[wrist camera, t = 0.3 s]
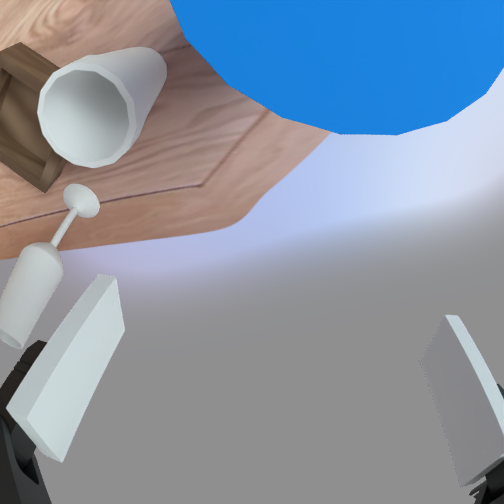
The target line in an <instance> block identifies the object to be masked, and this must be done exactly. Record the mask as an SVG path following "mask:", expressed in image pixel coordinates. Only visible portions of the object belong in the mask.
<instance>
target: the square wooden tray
mask: <svg viewBox="0 0 504 504" xmlns="http://www.w3.org/2000/svg"><path fill="white" fill-rule="evenodd" d="M59 69H60V68H59V67H57V66H56V65H54V64H53V63H51V62H50V61H48V60H47V59H45V58H44V57H42V56H41V55H39V54H38V53H36V52H35V51H33V50H32V49H30V48H29V47H27V46H26V45H24V44H22V43H21V42H20V43H18V44H15V45H13V46H11V47H9V48H6V49H4V50H2V51H0V161H1V162H2V163H4V164H5V165H6V166H8V167H9V168H10V169H12V170H13V171H14V172H16V173H17V174H18V175H20V176H21V177H23V178H24V179H25V180H27V181H28V182H30V183H31V184H32V185H34V186H35V187H37V188H38V189H39V190H41V191H42V192H44V193H46V192H47V190H48V189H49V188H50V187H51V185H52V184H53V183H54V182H55V180H56V179H57V178H58V177H59V176H60V174H61V172H62V169H63V167H64V165H65V163H66V161H67V160H66V159H65V158H63V157H62V156H60V155H59V154H57V153H56V152H55V151H54V149H53V148H52V147H51V145H50V144H49V143H48V141H47V140H46V138H45V137H44V135H43V134H42V130H41V126H40V122H39V118H38V114H37V110H38V104H39V97H40V91H41V89H42V88H43V86H44V85H45V83H46V82H47V81H48V79H49V78H50V76H51V75H52V73H53V72H55V71H57V70H59Z"/></svg>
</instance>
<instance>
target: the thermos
mask: <svg viewBox="0 0 504 504" xmlns="http://www.w3.org/2000/svg"><path fill="white" fill-rule="evenodd" d="M170 2H171V4H172V7H173V9H174V12H175V14H176V16H177V19H178V21H179V24H180V26H181V28H182V31H183V33H184V36H185V38H186V40H187V41H188V42H189V43H190V44H191V45H192V46H193V47H194V48H195V49H196V50H197V51H198V52H199V53H200V55H201V56H202V57H203V58H204V59H205V60H206V61H207V62H208V63H209V64H210V65H211V66H212V68H213V69H214V70H215V71H216V72H217V73H218V74H219V75H220V77H221V78H222V79H223V80H224V81H225V82H226V83H227V84H228V85H229V86H231V87H232V88H234V89H236V90H238V91H239V92H241V93H243V94H245V95H246V96H248V97H250V98H251V99H253V100H255V101H256V102H258V103H260V104H261V105H263V106H264V107H266V108H268V109H269V110H271V111H272V112H274V113H276V114H277V115H279V116H280V117H282V118H286V119H290V120H293V121H297V122H301V123H304V124H308V125H311V126H315V127H318V128H321V129H325V130H328V131H331V132H334V133H338V134H372V135H373V134H374V135H399V134H403V133H406V132H409V131H412V130H416V129H420V128H423V127H427V126H430V125H434V124H438V123H441V122H445V121H447V120H449V119H450V118H451V117H453V116H455V115H456V114H457V113H459V112H460V111H462V110H463V109H465V108H466V107H467V106H469V105H470V104H472V103H473V102H475V101H476V100H477V99H479V98H480V97H482V96H483V95H484V94H486V93H487V91H488V90H489V88H490V87H491V86H492V84H493V83H494V81H495V79H496V78H497V77H498V75H499V74H500V72H501V70H502V69H503V68H504V0H170Z"/></svg>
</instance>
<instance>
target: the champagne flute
mask: <svg viewBox="0 0 504 504" xmlns="http://www.w3.org/2000/svg"><path fill="white" fill-rule="evenodd" d="M63 199H64V202H65V204H66V206H67V207H68V208H69V209H70V212H69V213H68V215H67V216H66V218H65V219H64V221H63V222H62V224H61V225H60V227H59V229H58V230H57V232H56V233H55V235H54V237H53V238H52V240H51V241H50V243H48V242H37V243H33V244H30V245H28V246H26V247H25V248H24V249H23V250H22V251H21V253H20V255H19V257H18V259H17V262H16V264H15V266H14V268H13V270H12V272H11V275H10V277H9V279H8V281H7V284H6V286H5V288H4V291H3V293H2V296H1V298H0V339H1V340H2V341H3V342H5V343H6V344H8V345H10V346H12V347H14V348H17V349H22V348H23V346H24V344H25V342H26V341H27V339H28V337H29V335H30V333H31V331H32V329H33V327H34V326H35V324H36V322H37V320H38V318H39V317H40V315H41V313H42V311H43V309H44V308H45V306H46V304H47V303H48V301H49V299H50V297H51V296H52V294H53V293H54V291H55V289H56V287H57V286H58V284H59V283H60V281H61V279H62V277H63V263H62V259H61V257H60V255H59V252H58V250H57V248H56V247H57V245H58V244H59V242H60V240H61V239H62V237H63V235H64V234H65V232H66V230H67V229H68V227H69V226H70V224H71V222H72V221H73V219H74V218H75V216H76V215H78V216H80V217H84V218H91V217H94V216H95V215H97V213H98V212H99V207H100V206H99V201H98V199H97V197H96V195H95V194H94V193H93V192H92V191H91V190H90V189H89V188H87V187H86V186H84V185H81V184H70V185H68V186H67V187H66V188H65V189H64V192H63Z"/></svg>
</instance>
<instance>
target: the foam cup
mask: <svg viewBox="0 0 504 504" xmlns="http://www.w3.org/2000/svg"><path fill="white" fill-rule="evenodd" d="M166 79H167V65H166V63H165V61H164V59H163V58H162V56H161V54H159V53H158V52H156V51H155V50H153V49H151V48H147V47H133V48H128V49H122V50H117V51H113V52H108V53H104V54H99V55H87V56H85V57H83V58H81V59H78V60H76V61H74V62H72V63H70V64H68V65H66V66H64V67H62V68H60V69H59V70H57V71H55V72H53V73H52V75H51V76H50V78H49V79H48V81H47V82H46V83H45V85H44V86H43V88H42V89H41V91H40V97H39V104H38V110H37V114H38V118H39V122H40V126H41V130H42V134H43V135H44V137H45V138H46V140H47V141H48V143H49V144H50V145H51V147H52V148H53V149H54V151H55V152H56V153H57V154H59V155H60V156H62V157H63V158H65V159H66V160H68V161H69V162H71V163H72V164H75V165H80V166H85V167H90V168H97V167H101V166H105V165H109V164H113V163H115V162H116V161H117V160H118V159H119V158H120V157H121V156H122V155H123V154H125V153H126V152H127V151H128V150H129V149H130V148H131V146H132V145H133V144H134V142H135V141H136V140H137V139H138V137H139V136H140V133H141V131H142V128H143V125H144V123H145V120H146V117H147V115H148V113H149V112H150V110H151V108H152V106H153V104H154V102H155V100H156V99H157V97H158V95H159V93H160V91H161V90H162V88H163V85H164V83H165V81H166Z"/></svg>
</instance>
